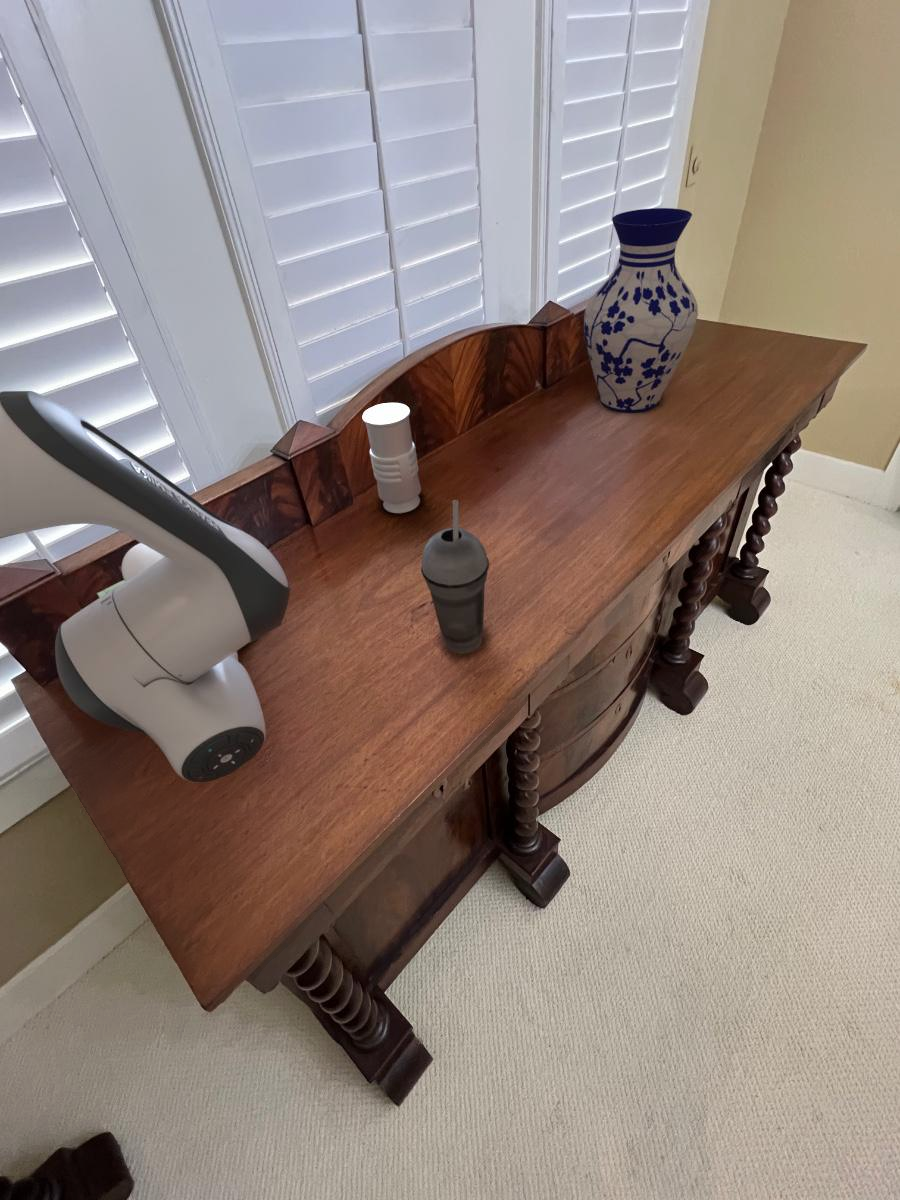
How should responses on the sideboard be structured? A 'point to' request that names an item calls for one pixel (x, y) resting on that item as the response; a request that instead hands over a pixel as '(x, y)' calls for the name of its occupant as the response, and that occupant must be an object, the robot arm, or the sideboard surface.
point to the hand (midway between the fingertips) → (158, 577)
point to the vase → (640, 312)
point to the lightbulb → (138, 560)
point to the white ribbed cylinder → (393, 456)
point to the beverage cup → (457, 584)
